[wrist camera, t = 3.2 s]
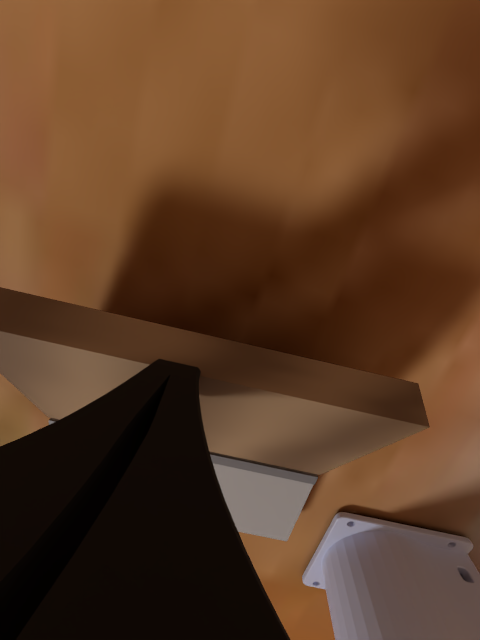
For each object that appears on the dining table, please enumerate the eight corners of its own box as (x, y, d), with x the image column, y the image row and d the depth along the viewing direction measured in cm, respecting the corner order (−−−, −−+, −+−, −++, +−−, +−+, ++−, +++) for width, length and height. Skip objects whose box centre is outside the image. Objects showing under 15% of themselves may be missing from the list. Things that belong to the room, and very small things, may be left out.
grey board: (312, 454, 17) (318, 477, 16) (284, 517, 19) (287, 543, 18) (67, 401, 17) (48, 420, 15) (67, 472, 19) (51, 495, 17)
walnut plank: (417, 383, 10) (429, 427, 9) (319, 446, 17) (319, 474, 16) (-22, 282, 9) (-61, 317, 8) (63, 390, 16) (47, 417, 15)
